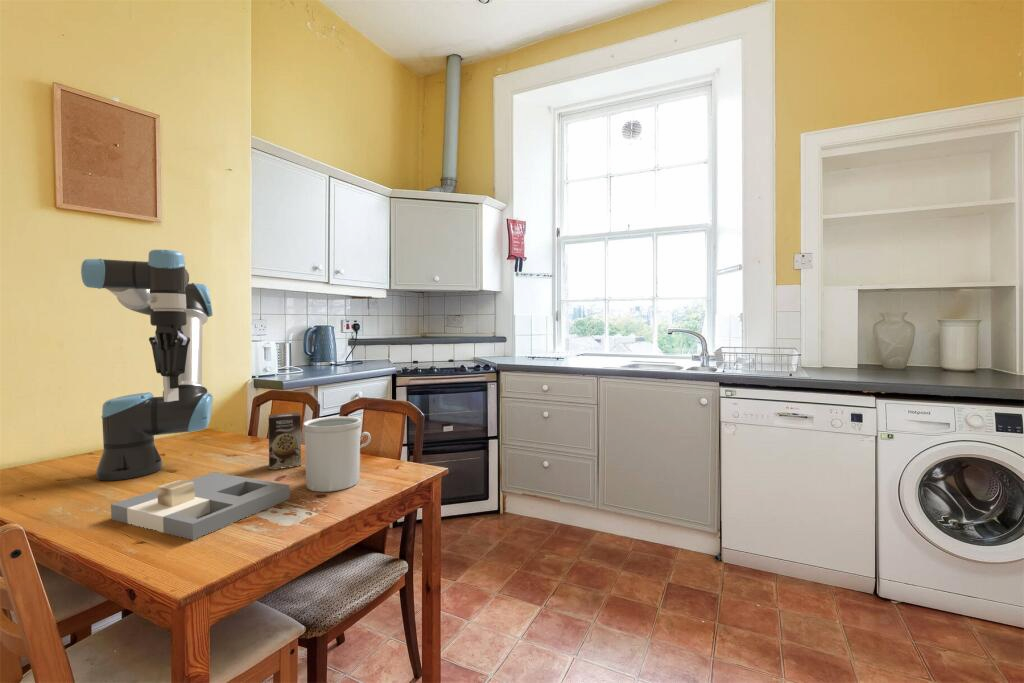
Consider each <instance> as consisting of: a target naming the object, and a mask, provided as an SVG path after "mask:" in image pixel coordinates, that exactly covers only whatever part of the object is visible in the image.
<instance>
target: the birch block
mask: <svg viewBox="0 0 1024 683" xmlns="http://www.w3.org/2000/svg"><path fill="white" fill-rule="evenodd" d="M156 490H157V495H158V504H160V505H164V506H169V507H174V506H177V505H180V504H183V503H186V502H188V501H191V500H194V499H195V487H194V482H190V481H188V480H183V479H178V480H175V481H171V482H168V483H164V484H162V485H159V486H157V487H156Z"/></svg>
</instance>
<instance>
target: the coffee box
mask: <svg viewBox="0 0 1024 683" xmlns="http://www.w3.org/2000/svg"><path fill="white" fill-rule="evenodd" d="M301 422H302V420H301V413H300V412H289V413H286V412H285V413H276V414H275V413H274V414H268V470H269V469H273V470H276V469H275V468H281V467H289V466H297V465H301V466H302V426H301V425H302V423H301ZM297 467H298V466H297ZM289 468H290V467H289ZM281 469H282V468H281Z"/></svg>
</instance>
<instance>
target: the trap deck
mask: <svg viewBox="0 0 1024 683" xmlns="http://www.w3.org/2000/svg"><path fill="white" fill-rule="evenodd" d="M187 481H190V482H194V487H195V499H194V500H191V501H188V502H186V503H183V504H180V505H177V506H174V507H169V506H164V505H160V504H158V495H157V489H156V490H152V491H149V492H145V493H143V494H139V495H135V496H133V497H129V498H126V499H123V500H120V501H117V502H114V503H111V504H110V515H111V520H112V521H115V522H120V523H124V524H128V525H131V524H132V525H131V526H136V527H139V526H140V527H139V528H143V527H144V528H143V529H147V528H148V529H149V530H150V529H153V530H152V531H154V530H157V531H156V532H158V531H159V532H158V533H162V532H164V533H163V534H166V533H167V535H170V534H171V536H174V535H175V537H177V536H179V538H181V537H184V538H183V539H185V538H187V539H186V540H189V539H191V540H190V541H193V540H194V541H196V540H198V539H200V538H199V537H201V536H203V535H205V536H207V535H206V534H208V533H210V534H212V533H213V532H212V531H215V530H217V531H219V530H221V529H223V528H222V527H224V528H226V527H228V526H231V525H232V524H231V523H233V524H235V523H237V522H236V521H238V520H240V519H242V520H244V519H243V518H245V517H247V516H249V517H251V516H253V515H252V514H254V515H256V514H258V513H261V512H263V511H265V510H268V509H270V508H272V507H274V505H275V506H277V505H279V504H281V503H284V502H286V501H288V500H290V499H291V486H290V485H289V484H285V483H279V482H275V481H274V482H273V481H269V480H262V479H255V478H250V477H243V476H239V475H232V474H227V473H220V472H215V471H213V472H211V473H208V474H203V475H201V476H197V477H194V478H191V479H189V480H188V479H187ZM289 498H290V499H289ZM287 499H288V500H287ZM285 500H286V501H285ZM283 501H284V502H283ZM278 503H279V504H278ZM276 504H277V505H276ZM267 508H268V509H267ZM262 510H263V511H262ZM260 511H261V512H260ZM257 512H258V513H257ZM255 513H256V514H255ZM250 515H251V516H250ZM247 518H248V517H247ZM245 519H246V518H245ZM240 521H241V520H240ZM234 522H235V523H234ZM238 522H239V521H238ZM230 524H231V525H230ZM227 525H228V526H227ZM225 526H226V527H225ZM220 528H221V529H220ZM148 529H147V530H148ZM218 529H219V530H218ZM211 532H212V533H211ZM215 532H216V531H215ZM208 535H209V534H208ZM203 537H204V536H203ZM197 538H198V539H197ZM201 538H202V537H201ZM195 539H196V540H195Z"/></svg>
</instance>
